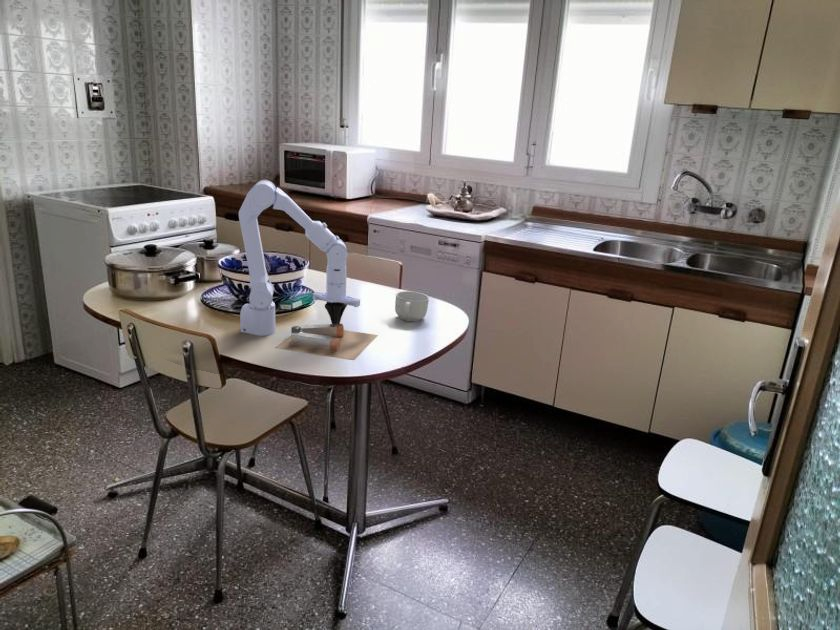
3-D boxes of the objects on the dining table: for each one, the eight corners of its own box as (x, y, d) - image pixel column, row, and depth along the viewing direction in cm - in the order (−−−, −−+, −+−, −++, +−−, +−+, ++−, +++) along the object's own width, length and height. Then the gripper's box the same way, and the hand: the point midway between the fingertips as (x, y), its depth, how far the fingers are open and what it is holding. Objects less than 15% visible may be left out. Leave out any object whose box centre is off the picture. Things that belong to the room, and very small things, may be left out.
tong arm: (301, 338, 175) (301, 328, 174) (301, 335, 177) (300, 325, 176) (343, 336, 178) (343, 326, 177) (342, 333, 180) (342, 323, 179)
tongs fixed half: (286, 343, 171) (286, 330, 170) (294, 338, 175) (293, 325, 174) (336, 351, 168) (336, 338, 167) (342, 345, 172) (342, 332, 171)
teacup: (402, 311, 207) (403, 288, 204) (432, 316, 203) (434, 293, 201) (385, 323, 195) (386, 299, 192) (416, 329, 191) (418, 305, 188)
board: (274, 351, 168) (274, 347, 168) (306, 328, 187) (306, 324, 186) (354, 364, 163) (354, 360, 163) (377, 338, 182) (378, 335, 181)
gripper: (307, 281, 177) (307, 325, 181) (352, 289, 172) (351, 334, 177) (319, 276, 183) (319, 318, 187) (363, 283, 179) (362, 326, 183)
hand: (335, 326), depth 182 cm, fingers closed
